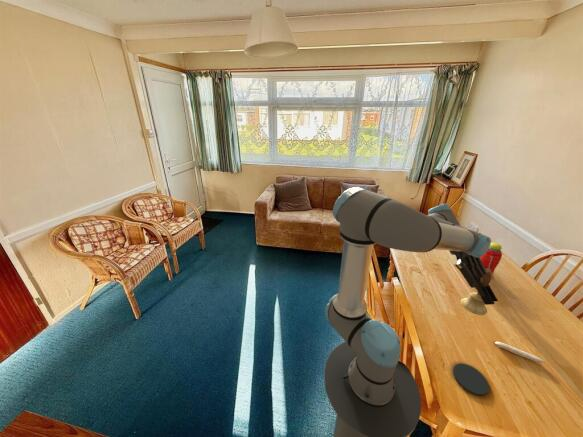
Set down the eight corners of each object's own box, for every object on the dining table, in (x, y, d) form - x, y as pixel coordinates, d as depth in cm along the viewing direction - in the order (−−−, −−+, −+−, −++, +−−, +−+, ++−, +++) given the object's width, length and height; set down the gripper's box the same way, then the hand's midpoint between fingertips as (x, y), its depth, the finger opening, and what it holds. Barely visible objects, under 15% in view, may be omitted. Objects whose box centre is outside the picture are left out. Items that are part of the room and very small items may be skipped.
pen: (544, 366, 82) (546, 363, 81) (494, 345, 89) (496, 342, 88) (543, 362, 83) (545, 359, 82) (494, 342, 90) (495, 339, 89)
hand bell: (457, 304, 88) (472, 271, 81) (464, 295, 92) (479, 263, 86) (483, 319, 82) (501, 284, 75) (489, 308, 87) (507, 275, 80)
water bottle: (487, 296, 112) (508, 254, 101) (467, 289, 117) (485, 248, 106) (487, 283, 121) (506, 243, 110) (469, 277, 125) (485, 238, 114)
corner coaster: (472, 399, 72) (473, 398, 72) (445, 368, 81) (446, 367, 81) (496, 390, 75) (496, 389, 74) (467, 361, 83) (468, 360, 83)
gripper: (456, 244, 81) (494, 310, 75) (476, 234, 88) (512, 294, 82) (437, 250, 87) (470, 311, 81) (457, 239, 94) (489, 295, 88)
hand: (491, 302), depth 82 cm, fingers closed on hand bell, 2 cm apart
